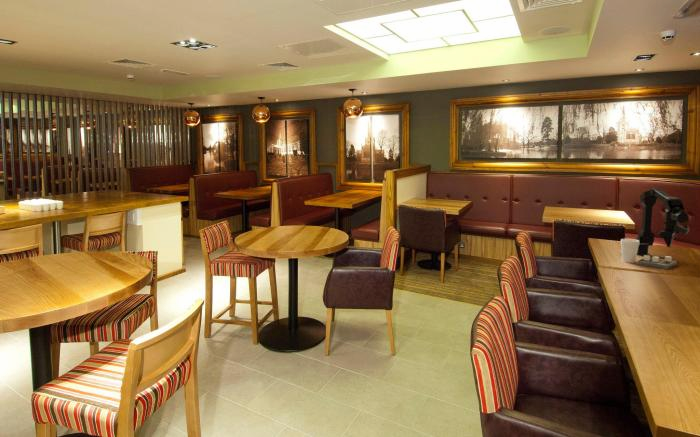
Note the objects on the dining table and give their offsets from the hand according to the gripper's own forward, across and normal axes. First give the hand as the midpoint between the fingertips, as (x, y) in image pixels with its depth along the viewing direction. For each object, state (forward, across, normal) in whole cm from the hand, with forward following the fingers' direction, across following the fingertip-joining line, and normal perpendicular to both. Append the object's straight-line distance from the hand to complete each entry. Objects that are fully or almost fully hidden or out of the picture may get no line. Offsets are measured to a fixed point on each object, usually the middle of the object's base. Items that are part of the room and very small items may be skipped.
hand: (668, 246), depth 248 cm
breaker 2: (+8, +1, 0) cm, 8 cm away
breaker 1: (+9, -5, +9) cm, 13 cm away
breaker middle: (+8, -5, +4) cm, 11 cm away
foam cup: (+11, -6, +18) cm, 22 cm away
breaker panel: (+11, -2, +4) cm, 12 cm away
